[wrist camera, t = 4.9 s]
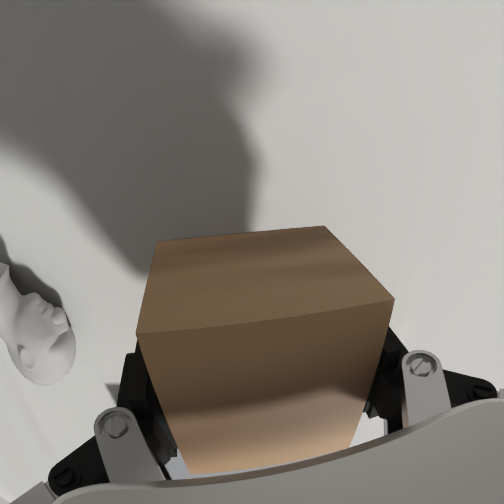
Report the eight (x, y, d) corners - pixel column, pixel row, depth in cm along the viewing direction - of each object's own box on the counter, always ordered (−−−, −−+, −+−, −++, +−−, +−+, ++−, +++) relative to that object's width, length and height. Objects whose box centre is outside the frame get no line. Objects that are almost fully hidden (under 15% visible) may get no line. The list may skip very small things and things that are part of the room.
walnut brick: (157, 241, 11) (135, 333, 6) (324, 225, 12) (394, 298, 7) (186, 381, 14) (190, 474, 9) (312, 364, 15) (348, 447, 10)
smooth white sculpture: (96, 338, 19) (40, 367, 18) (31, 233, 15) (-26, 272, 14) (98, 379, 15) (34, 409, 14) (13, 256, 12) (-51, 301, 10)
